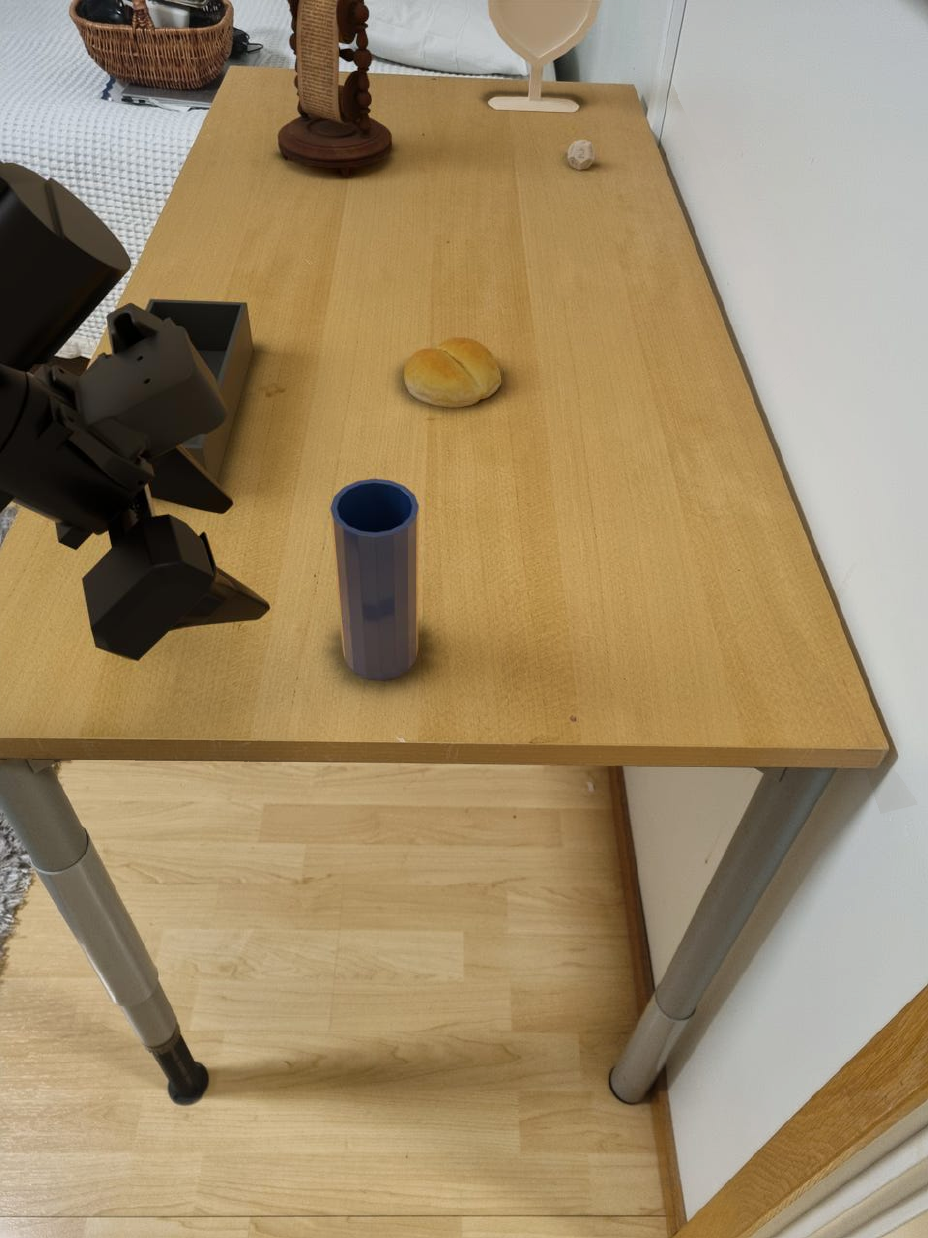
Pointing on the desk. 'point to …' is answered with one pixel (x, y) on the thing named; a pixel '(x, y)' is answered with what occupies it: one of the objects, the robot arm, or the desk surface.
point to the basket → (214, 362)
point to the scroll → (332, 89)
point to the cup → (377, 576)
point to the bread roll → (452, 373)
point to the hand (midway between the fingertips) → (245, 556)
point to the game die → (581, 154)
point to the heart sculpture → (540, 42)
